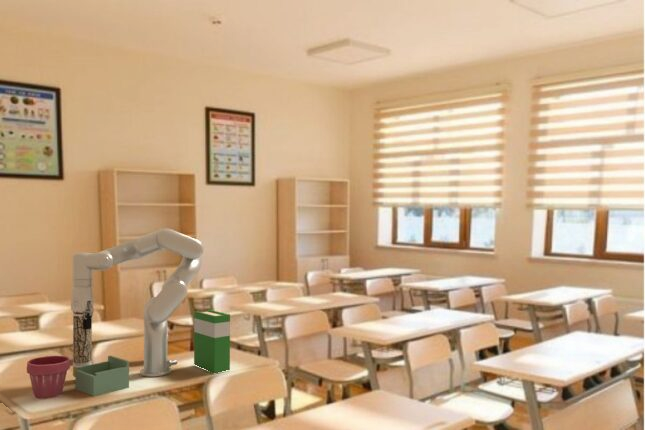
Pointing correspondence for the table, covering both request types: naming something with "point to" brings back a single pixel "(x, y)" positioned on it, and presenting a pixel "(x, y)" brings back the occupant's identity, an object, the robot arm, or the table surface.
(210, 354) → the green cereal box
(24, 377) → the table surface
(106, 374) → the open box
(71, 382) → the table surface
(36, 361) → the plant pot
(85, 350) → the wooden log
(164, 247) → the robot arm
